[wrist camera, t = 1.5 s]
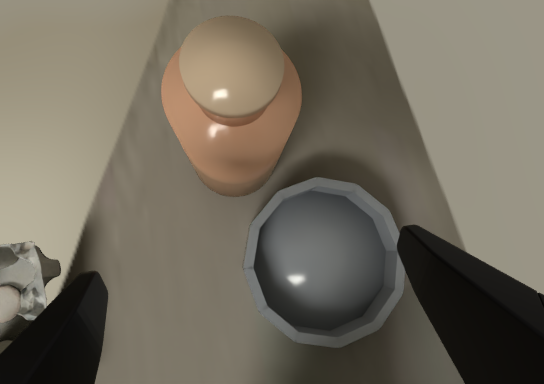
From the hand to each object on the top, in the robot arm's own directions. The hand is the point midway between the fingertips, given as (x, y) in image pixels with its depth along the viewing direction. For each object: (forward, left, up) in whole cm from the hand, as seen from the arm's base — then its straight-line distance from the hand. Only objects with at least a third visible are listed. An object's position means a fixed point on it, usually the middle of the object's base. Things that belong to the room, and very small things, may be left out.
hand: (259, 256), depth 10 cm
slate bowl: (-2, -5, -13) cm, 14 cm away
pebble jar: (+7, -2, -13) cm, 15 cm away
